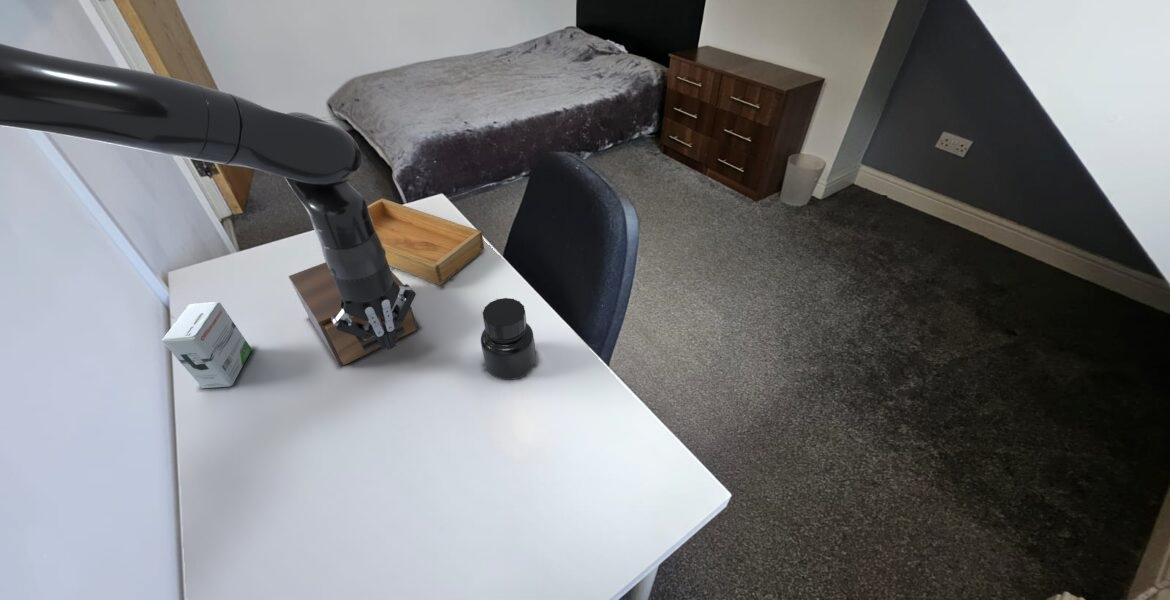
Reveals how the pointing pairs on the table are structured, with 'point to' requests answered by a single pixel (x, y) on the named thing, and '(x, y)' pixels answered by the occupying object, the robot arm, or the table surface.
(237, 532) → the table surface
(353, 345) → the drawer
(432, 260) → the tray
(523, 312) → the ink bottle
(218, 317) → the ink box
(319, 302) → the cabinet
